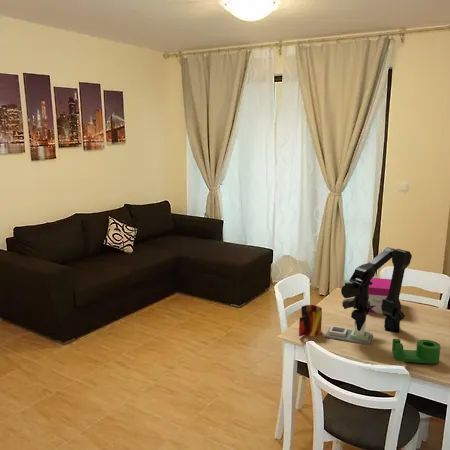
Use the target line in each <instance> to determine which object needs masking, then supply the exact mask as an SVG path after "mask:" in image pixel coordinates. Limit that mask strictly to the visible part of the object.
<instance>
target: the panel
mask: <svg viewBox="0 0 450 450" xmlns="http://www.w3.org/2000/svg"><path fill="white" fill-rule="evenodd" d="M373 335H374V334H373V333H371V332H370V331H368V330H365V336H359V335H355V328H354V329H348V327H344V326H343V327H342V326H336V325H331V326H329V328H328V329H327V332H326V333H325V335H324V338H326V339H331V340H336V341H337V340H338V341H341V342H342V341H343V342H349V343H354V344H355V343H356V344H361V345H366V346H370V344H371V341H372V338H373Z"/></svg>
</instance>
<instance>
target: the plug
mask: <svg viewBox="0 0 450 450" xmlns="http://www.w3.org/2000/svg"><path fill="white" fill-rule="evenodd" d="M366 324H367V319H366V320H365V322H364V324H363V326H362V328H361V330H360V331H358V330H357V325H356V321H355V320H354V326H355V328H354V329H355V335H359V336H365V331H366V326H367V325H366Z"/></svg>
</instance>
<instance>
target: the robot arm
mask: <svg viewBox="0 0 450 450" xmlns="http://www.w3.org/2000/svg"><path fill="white" fill-rule="evenodd" d="M412 255H413V254H412V253H411V252H410V251H409V250H406V249H405V250H404V249H400V248H392V247H389V246H387V247H385V248H384V249H383V250H382V251H381V252H380V253H379V254H377V255H376V256H375V257H374V258H373V259H372V260H370V261H369V262H367V263H363V264H361V265H358V266H356V268H355V269H354V271H353V273H352V275H351V277H350V279H348V280H349V282H345V283H344V285H343V286H342V287H341V288H340V289H341V290H340V293H341V295H342V297H343V298H344V299H343V300H342V302H341V303H342V307H343V310H347V309H350V308H352V309H353V310H352V311H351V314H350V317H351V319H352V320H354V322H355V321H356V325H357V330H358V331H360V330H361V328H362V326H363V324H364V322H365V320H366V321H367V316H368V314H369V313H370V312H369V310H370V306H371V303H370V302H369V301H368V299H369V285H372V284H373V283H372V282H371V281H370V280H371V279H372V278H375V275H376V272H377V271H378V270H379V269H381V268H382V267H383V266H384V265H385V264H387V262H389V261H390V260H391V263H392V265H393V270H392V274H391V284H390V289H389V294H388V297H387V298H386V299H383V300H382V305H381V307H382V308H381V309H382V312H383V314H382V315H383V316H385V318H384V328H383V329H384V330H385V331H386V332H392V333H393V332H394V333H400V330H401V326H400V325H401V322H402V321H403V320H404V318H405V316H406V314H404V312H403V311H402V310H401V309H402V304H401V301H400V294H401V289H402V285H403V280H404V277H405V271H406V268H408V267H409V266H410V264H411V260H412V258H413V257H412ZM361 280H362V281H361Z"/></svg>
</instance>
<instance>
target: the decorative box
mask: <svg viewBox="0 0 450 450" xmlns="http://www.w3.org/2000/svg"><path fill="white" fill-rule="evenodd" d="M391 279H392V278H391ZM391 279H390V278H379V277H373V278H372V279H371V280H370V281H371V282H372V283H373V284H372V285H369V299H368V301H369V302H370V303H371V306H370V310H369V312H368V313H374V314H381V315H383V312H382V309H381V308H382V307H381V305H382V300H383V299H386V298H387V297H388V294H389V289H390V284H391ZM360 281H362V280H360Z"/></svg>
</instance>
